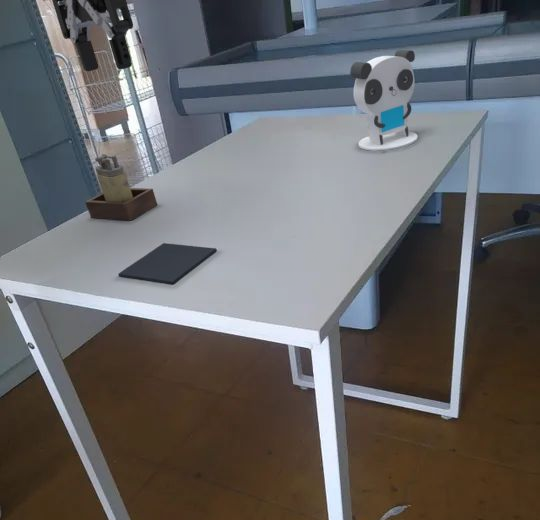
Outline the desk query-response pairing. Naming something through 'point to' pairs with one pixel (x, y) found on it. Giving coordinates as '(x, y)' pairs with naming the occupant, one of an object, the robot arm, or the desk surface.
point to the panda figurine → (385, 99)
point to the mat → (167, 263)
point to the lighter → (113, 180)
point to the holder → (122, 205)
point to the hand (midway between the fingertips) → (108, 69)
